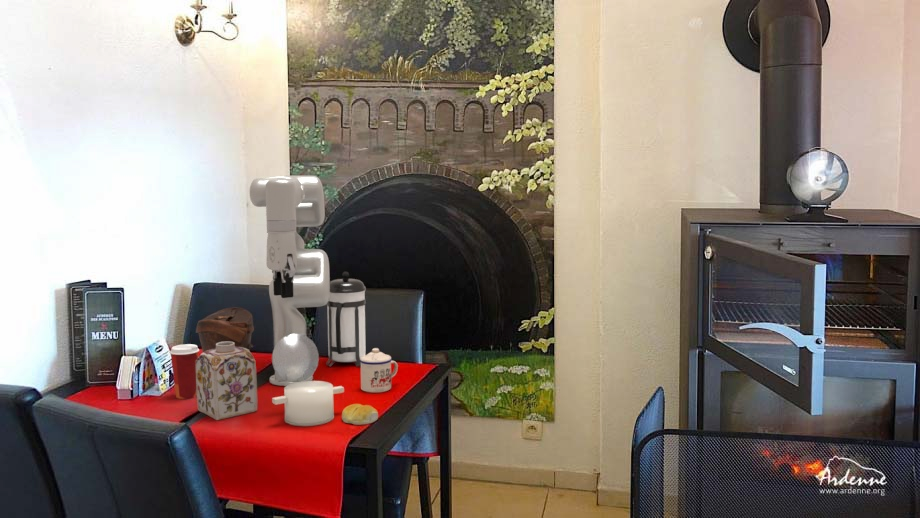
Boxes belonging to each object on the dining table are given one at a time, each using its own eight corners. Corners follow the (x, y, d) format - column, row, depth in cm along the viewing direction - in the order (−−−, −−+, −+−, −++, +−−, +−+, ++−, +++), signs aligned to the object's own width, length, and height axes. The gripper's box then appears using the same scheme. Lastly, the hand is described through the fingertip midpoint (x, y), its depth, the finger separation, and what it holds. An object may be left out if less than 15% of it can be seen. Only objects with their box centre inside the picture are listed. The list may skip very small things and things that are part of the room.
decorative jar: (238, 401, 205) (236, 336, 203) (259, 411, 196) (256, 343, 194) (195, 410, 197) (192, 343, 195) (215, 421, 188) (212, 350, 186)
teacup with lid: (371, 395, 210) (371, 354, 209) (354, 388, 217) (353, 348, 216) (406, 387, 218) (406, 347, 217) (388, 380, 225) (387, 342, 224)
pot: (265, 418, 190) (264, 387, 189) (332, 405, 200) (331, 376, 200) (283, 432, 180) (283, 399, 179) (353, 417, 190) (352, 386, 190)
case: (204, 376, 230) (202, 318, 228) (191, 363, 247) (189, 308, 245) (262, 369, 239) (261, 313, 237) (246, 357, 256) (245, 305, 254)
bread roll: (355, 413, 195) (355, 398, 195) (383, 419, 190) (382, 403, 190) (334, 421, 188) (333, 406, 188) (361, 428, 183) (361, 412, 183)
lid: (276, 385, 191) (273, 385, 192) (321, 378, 198) (318, 378, 199) (270, 336, 192) (267, 337, 193) (315, 331, 199) (312, 331, 200)
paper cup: (206, 393, 212) (204, 344, 211) (188, 401, 205) (186, 350, 203) (183, 391, 215) (181, 342, 213) (165, 398, 207) (162, 348, 206)
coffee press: (313, 362, 248) (311, 271, 245) (356, 355, 257) (354, 267, 254) (337, 373, 234) (335, 277, 231) (382, 365, 243) (381, 272, 240)
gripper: (256, 226, 202) (258, 293, 204) (280, 229, 188) (282, 301, 190) (282, 224, 206) (284, 291, 208) (308, 228, 193) (309, 299, 195)
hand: (283, 295), depth 199 cm, fingers open, 4 cm apart
